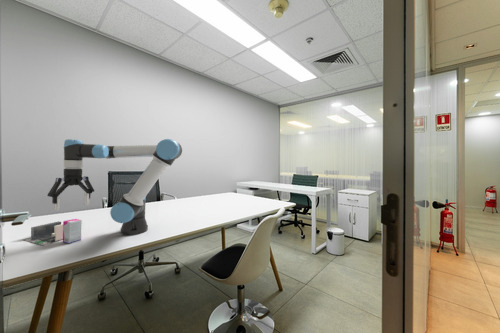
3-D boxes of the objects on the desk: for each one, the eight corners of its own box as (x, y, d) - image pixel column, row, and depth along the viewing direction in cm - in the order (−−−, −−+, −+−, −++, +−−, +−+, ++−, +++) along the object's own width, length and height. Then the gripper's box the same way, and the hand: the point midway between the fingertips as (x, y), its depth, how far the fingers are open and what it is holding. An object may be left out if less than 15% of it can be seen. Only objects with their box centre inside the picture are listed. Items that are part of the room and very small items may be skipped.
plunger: (73, 235, 113) (73, 222, 113) (42, 244, 100) (42, 229, 100) (64, 233, 115) (64, 220, 115) (33, 242, 103) (33, 227, 103)
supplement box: (81, 240, 109) (82, 219, 109) (69, 244, 103) (69, 222, 103) (74, 238, 111) (75, 218, 110) (62, 242, 105) (62, 221, 105)
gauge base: (78, 235, 115) (78, 225, 115) (43, 245, 100) (43, 234, 100) (58, 231, 121) (58, 221, 121) (23, 240, 106) (23, 229, 106)
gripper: (93, 167, 119) (92, 202, 120) (38, 168, 96) (37, 211, 96) (102, 168, 117) (101, 203, 117) (47, 169, 93) (46, 213, 94)
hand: (72, 207), depth 107 cm, fingers open, 13 cm apart
